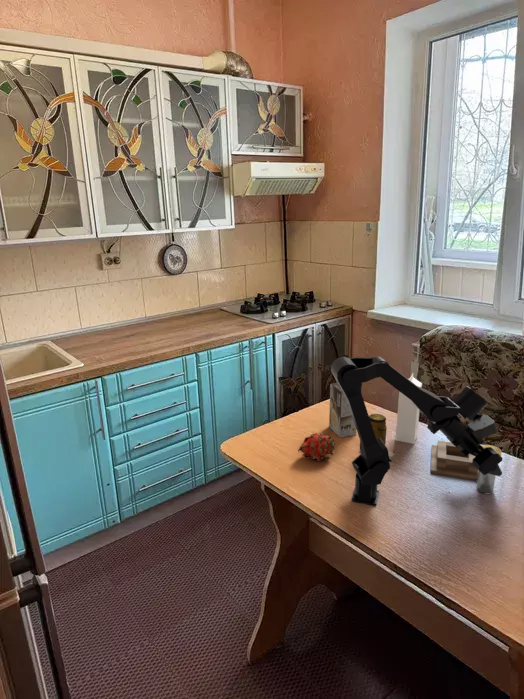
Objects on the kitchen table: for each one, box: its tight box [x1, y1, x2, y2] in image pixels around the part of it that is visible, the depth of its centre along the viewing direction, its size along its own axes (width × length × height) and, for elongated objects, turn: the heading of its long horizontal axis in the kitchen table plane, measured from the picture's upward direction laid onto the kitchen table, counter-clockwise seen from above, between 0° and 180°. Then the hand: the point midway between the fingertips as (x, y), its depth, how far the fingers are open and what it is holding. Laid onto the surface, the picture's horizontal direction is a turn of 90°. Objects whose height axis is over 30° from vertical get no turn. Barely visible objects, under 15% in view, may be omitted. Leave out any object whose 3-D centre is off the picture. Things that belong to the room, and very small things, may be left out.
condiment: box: [358, 413, 396, 458], centre depth 151 cm, size 7×8×12 cm
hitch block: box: [430, 440, 479, 481], centre depth 145 cm, size 16×14×4 cm
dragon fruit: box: [297, 432, 336, 462], centre depth 149 cm, size 8×8×12 cm
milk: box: [395, 373, 423, 445], centre depth 158 cm, size 6×6×22 cm
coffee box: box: [328, 382, 357, 438], centre depth 165 cm, size 9×6×16 cm
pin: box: [476, 444, 503, 494], centre depth 131 cm, size 5×5×12 cm
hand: (491, 465), depth 131 cm, fingers open, 9 cm apart
